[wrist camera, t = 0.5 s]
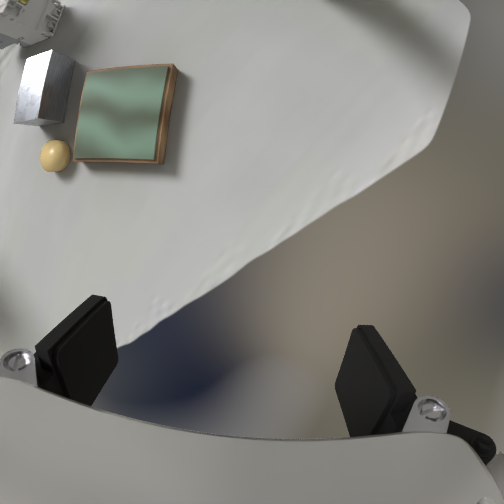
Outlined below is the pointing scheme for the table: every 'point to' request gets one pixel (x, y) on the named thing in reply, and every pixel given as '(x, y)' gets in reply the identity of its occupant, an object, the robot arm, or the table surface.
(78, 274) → the table surface
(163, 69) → the green board with frame
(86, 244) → the table surface
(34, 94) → the block
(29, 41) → the circuit breaker
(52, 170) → the cream dome
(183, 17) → the table surface
